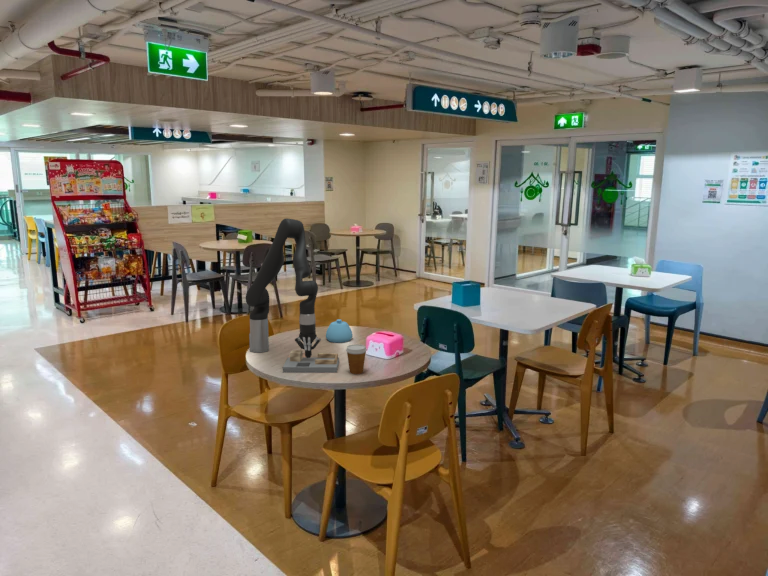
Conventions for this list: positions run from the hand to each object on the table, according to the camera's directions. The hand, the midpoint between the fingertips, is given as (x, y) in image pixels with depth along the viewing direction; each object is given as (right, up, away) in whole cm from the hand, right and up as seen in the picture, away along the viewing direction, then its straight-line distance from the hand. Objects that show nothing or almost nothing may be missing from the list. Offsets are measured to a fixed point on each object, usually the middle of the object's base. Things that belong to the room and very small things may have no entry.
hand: (308, 357), depth 270 cm
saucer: (-7, -2, +12) cm, 14 cm away
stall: (+9, -2, -1) cm, 9 cm away
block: (-6, -1, +1) cm, 6 cm away
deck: (+2, -4, -2) cm, 5 cm away
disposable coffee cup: (+24, -6, -9) cm, 26 cm away
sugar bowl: (+11, +4, +45) cm, 47 cm away
